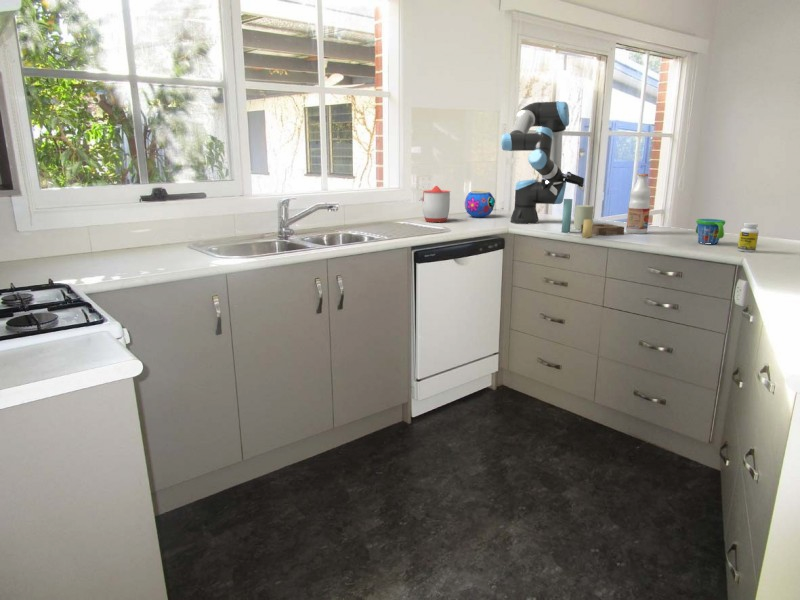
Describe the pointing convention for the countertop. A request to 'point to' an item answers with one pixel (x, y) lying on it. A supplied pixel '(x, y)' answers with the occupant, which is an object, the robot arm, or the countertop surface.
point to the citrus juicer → (436, 204)
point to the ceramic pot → (479, 203)
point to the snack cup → (710, 230)
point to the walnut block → (605, 229)
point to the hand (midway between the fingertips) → (569, 190)
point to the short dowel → (587, 228)
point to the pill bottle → (748, 237)
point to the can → (582, 214)
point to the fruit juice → (639, 206)
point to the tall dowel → (566, 215)
